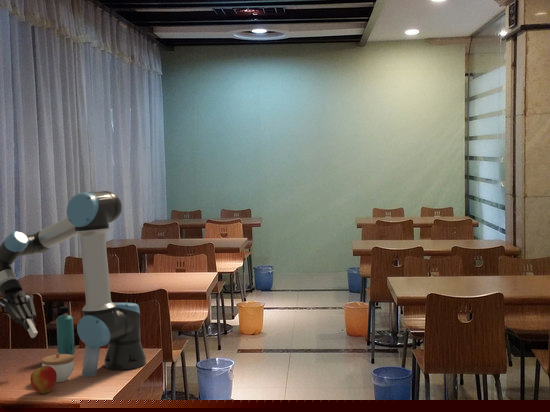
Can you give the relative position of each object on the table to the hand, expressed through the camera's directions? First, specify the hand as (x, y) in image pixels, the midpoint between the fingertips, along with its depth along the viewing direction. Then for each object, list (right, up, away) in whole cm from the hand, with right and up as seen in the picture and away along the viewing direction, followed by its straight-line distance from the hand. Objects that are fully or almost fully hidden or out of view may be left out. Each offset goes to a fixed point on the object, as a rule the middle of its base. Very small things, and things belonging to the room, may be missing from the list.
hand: (34, 335), depth 260 cm
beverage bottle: (+5, -13, +21) cm, 26 cm away
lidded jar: (+11, -14, -8) cm, 20 cm away
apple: (+11, -15, -22) cm, 29 cm away
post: (+20, -14, -3) cm, 25 cm away
